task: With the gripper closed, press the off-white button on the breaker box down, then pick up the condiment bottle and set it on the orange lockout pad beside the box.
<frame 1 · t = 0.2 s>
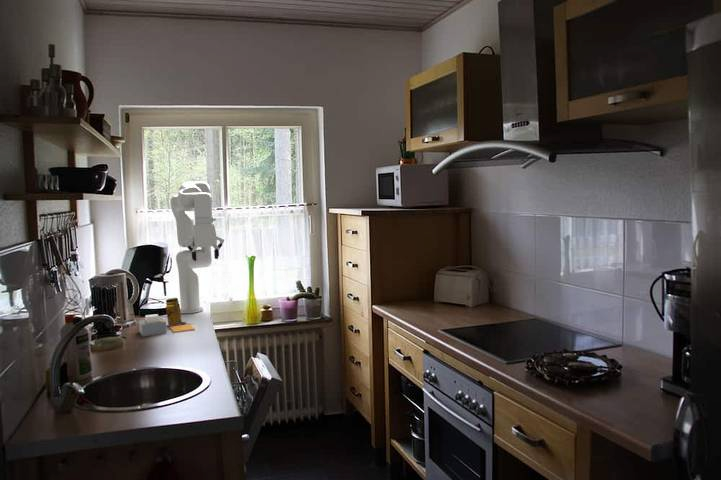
hand: (205, 259, 267), 31 cm above the worktop, tool pointing down, fingers open, 9 cm apart
condiment: (176, 324, 278), on the worktop, touching lockout pad
breaker box: (152, 332, 264), on the worktop
lockout pad: (182, 328, 269), on the worktop
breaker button: (152, 320, 263), point 6 cm above the worktop, slide at 0.0 cm
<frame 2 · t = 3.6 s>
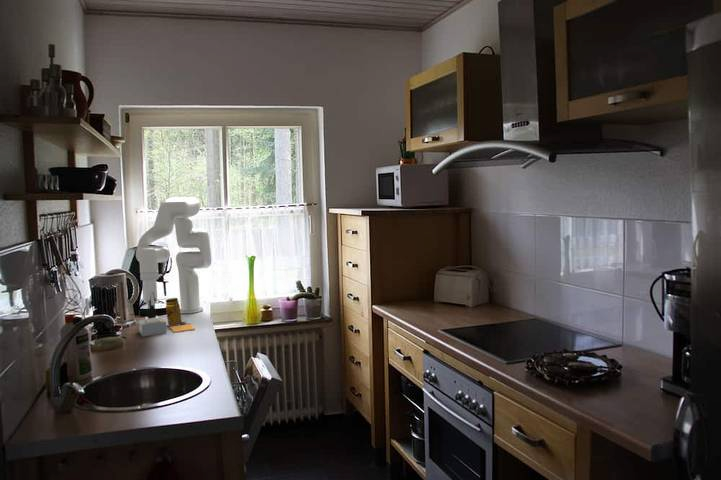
hand: (151, 317, 263), 7 cm above the worktop, tool pointing down, fingers closed
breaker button: (152, 321, 264), point 5 cm above the worktop, slide at 0.8 cm, touching gripper
everything else where it was.
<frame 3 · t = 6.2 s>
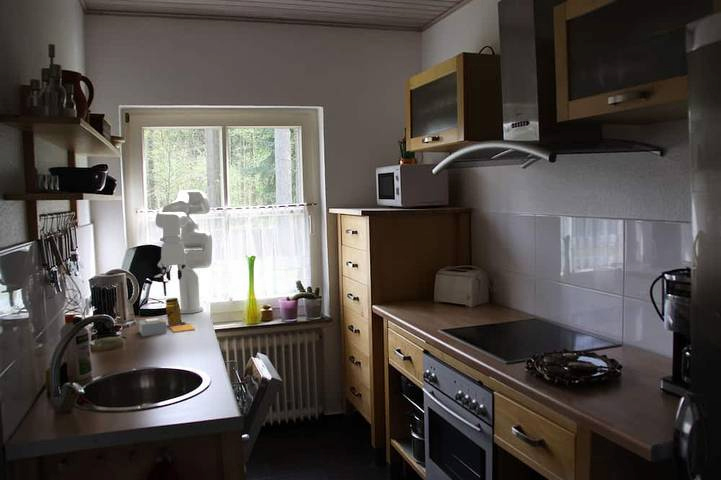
hand: (174, 279, 276), 21 cm above the worktop, tool pointing down, fingers open, 3 cm apart
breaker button: (152, 324, 264), point 4 cm above the worktop, slide at 1.8 cm
everything else where it was.
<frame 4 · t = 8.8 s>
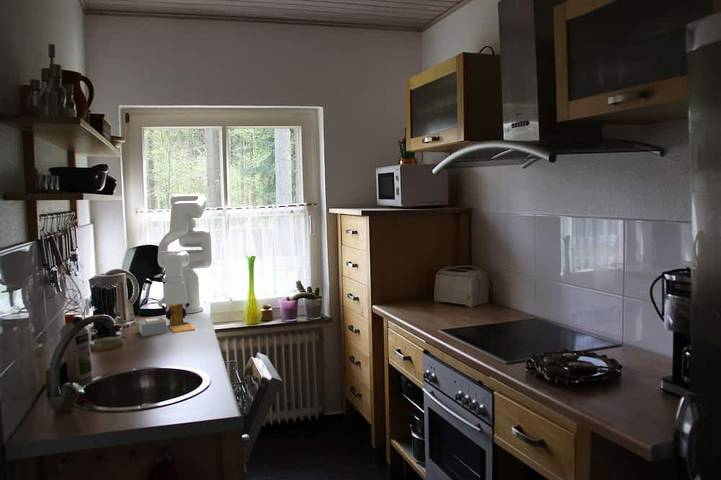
hand: (176, 318, 278), 3 cm above the worktop, tool pointing down, fingers closed on condiment, 6 cm apart
condiment: (178, 324, 278), on the worktop, touching gripper, lockout pad
everything else where it was.
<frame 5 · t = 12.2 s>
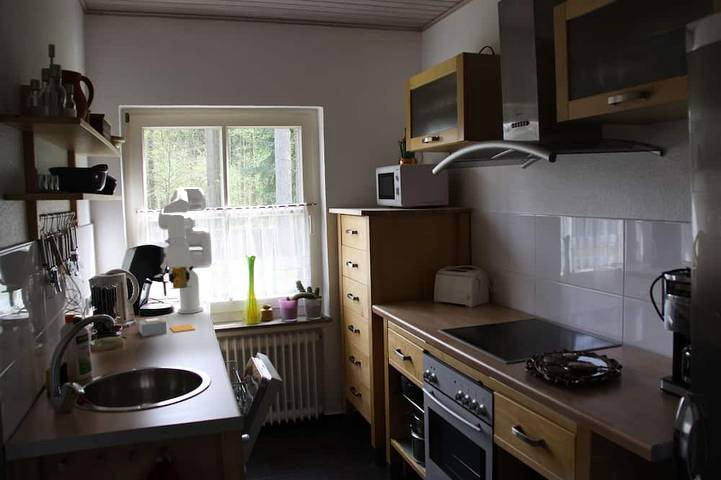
hand: (179, 281, 267), 21 cm above the worktop, tool pointing down, fingers closed on condiment, 6 cm apart
condiment: (181, 288, 268), point 18 cm above the worktop, touching gripper
everything else where it was.
when the fingers open (5 cm above the worktop, at t = 15.6 s): condiment drops 2 cm, resting on lockout pad.
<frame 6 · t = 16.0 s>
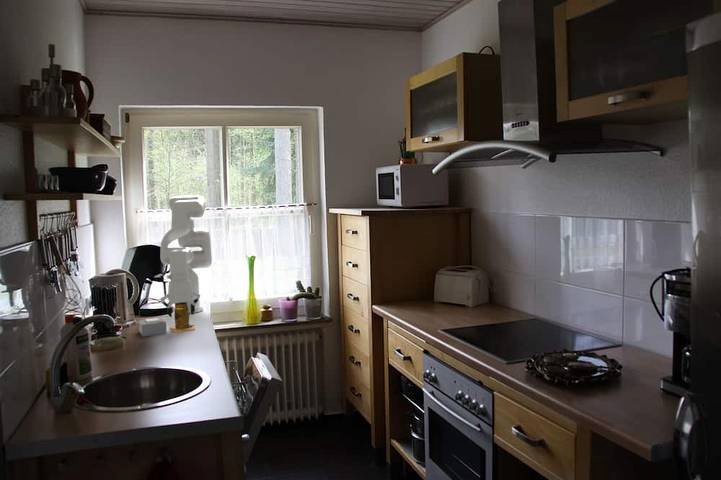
hand: (181, 315, 269), 6 cm above the worktop, tool pointing down, fingers open, 9 cm apart
condiment: (183, 327, 270), resting on lockout pad
everything else where it was.
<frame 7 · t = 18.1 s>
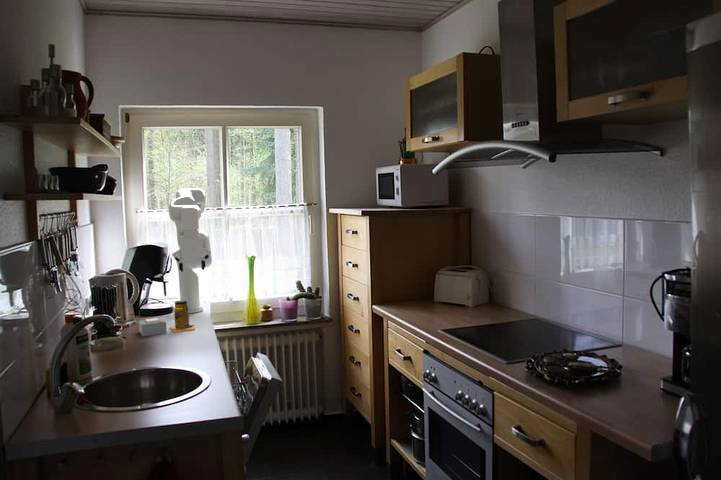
hand: (192, 270, 278), 25 cm above the worktop, tool pointing down, fingers open, 9 cm apart
nothing on the worktop moved.
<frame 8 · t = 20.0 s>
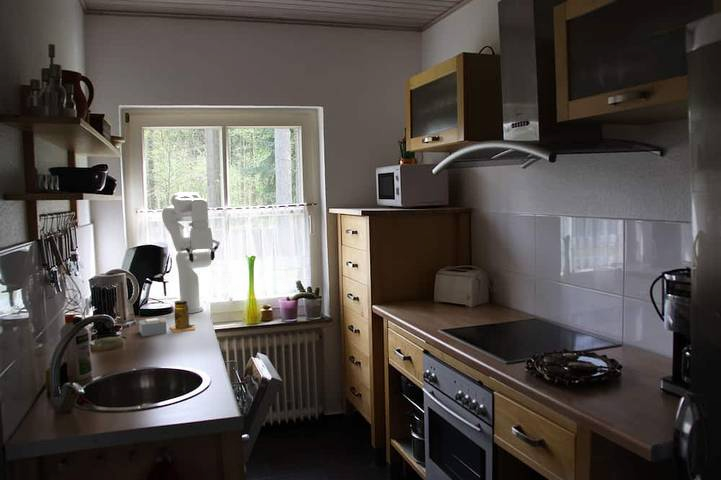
hand: (202, 260, 286), 28 cm above the worktop, tool pointing down, fingers open, 9 cm apart
nothing on the worktop moved.
at the end: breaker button slide at 1.8 cm; condiment inside the target area on the lockout pad (0.7 cm from its centre), point 0.4 cm above the lockout pad's base; condiment tilted 0° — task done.
